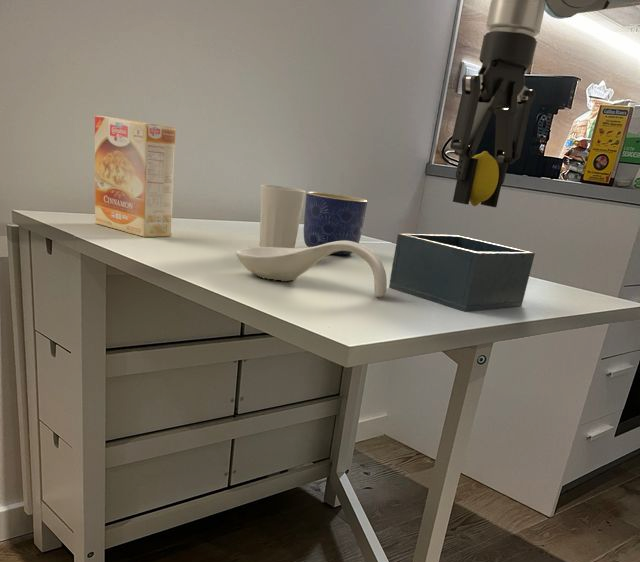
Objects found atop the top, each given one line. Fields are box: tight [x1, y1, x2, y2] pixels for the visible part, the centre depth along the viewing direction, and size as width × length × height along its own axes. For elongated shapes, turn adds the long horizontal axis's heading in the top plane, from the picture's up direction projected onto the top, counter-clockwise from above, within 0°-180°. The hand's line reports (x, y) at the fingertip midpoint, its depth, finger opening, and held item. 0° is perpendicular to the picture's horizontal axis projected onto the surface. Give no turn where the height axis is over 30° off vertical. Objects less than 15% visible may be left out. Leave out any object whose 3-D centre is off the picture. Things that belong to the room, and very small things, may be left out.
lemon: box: [469, 150, 499, 207], centre depth 102 cm, size 6×6×8 cm
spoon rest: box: [235, 241, 388, 298], centre depth 101 cm, size 24×12×7 cm, turn 75°
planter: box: [303, 191, 368, 256], centre depth 135 cm, size 12×12×11 cm
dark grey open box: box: [388, 233, 535, 312], centre depth 107 cm, size 16×16×9 cm
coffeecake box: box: [94, 115, 177, 238], centre depth 125 cm, size 15×7×20 cm, turn 53°
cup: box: [259, 184, 306, 248], centre depth 120 cm, size 8×8×12 cm
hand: (474, 204), depth 103 cm, fingers closed on lemon, 5 cm apart
